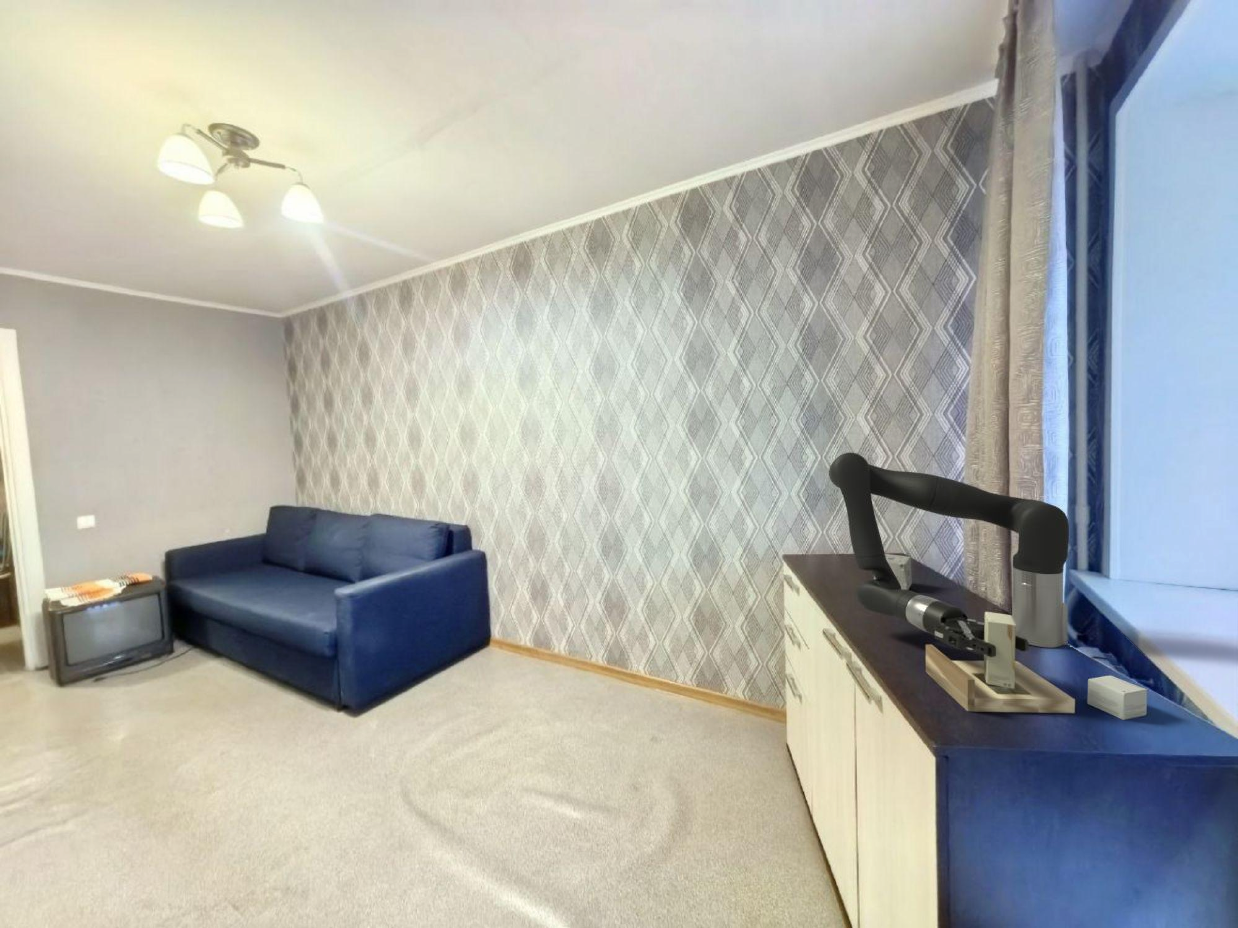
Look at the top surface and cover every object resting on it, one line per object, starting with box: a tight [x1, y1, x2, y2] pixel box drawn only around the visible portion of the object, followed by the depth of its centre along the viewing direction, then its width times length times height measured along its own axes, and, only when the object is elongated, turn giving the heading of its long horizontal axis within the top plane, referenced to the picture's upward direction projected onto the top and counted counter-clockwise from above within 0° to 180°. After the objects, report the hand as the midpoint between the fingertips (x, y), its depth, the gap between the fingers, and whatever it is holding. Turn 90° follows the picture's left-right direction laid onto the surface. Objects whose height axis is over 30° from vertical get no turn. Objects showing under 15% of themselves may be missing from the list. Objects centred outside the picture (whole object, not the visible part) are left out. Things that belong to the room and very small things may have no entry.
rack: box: [925, 644, 1076, 714], centre depth 97 cm, size 18×15×6 cm
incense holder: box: [873, 553, 913, 590], centre depth 160 cm, size 10×8×10 cm
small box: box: [1086, 675, 1148, 721], centre depth 90 cm, size 6×6×5 cm
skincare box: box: [983, 611, 1016, 689], centre depth 95 cm, size 6×4×12 cm
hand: (1010, 649), depth 93 cm, fingers closed on skincare box, 7 cm apart
